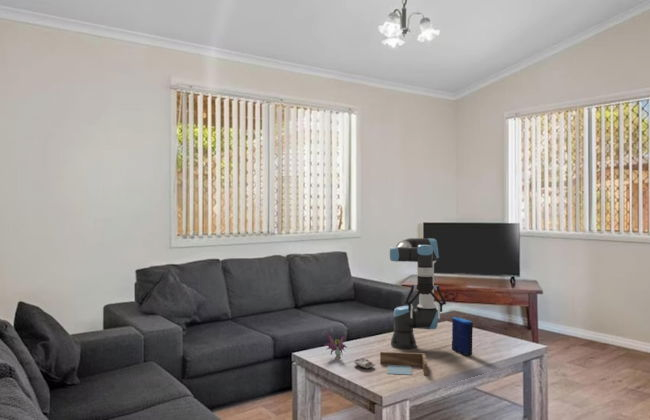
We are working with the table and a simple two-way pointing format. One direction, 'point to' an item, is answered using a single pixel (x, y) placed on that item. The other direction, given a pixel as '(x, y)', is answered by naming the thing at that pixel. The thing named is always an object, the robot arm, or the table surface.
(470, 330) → the book
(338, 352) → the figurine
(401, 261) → the robot arm
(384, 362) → the corner walls
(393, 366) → the mat
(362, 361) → the stone
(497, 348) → the table surface
